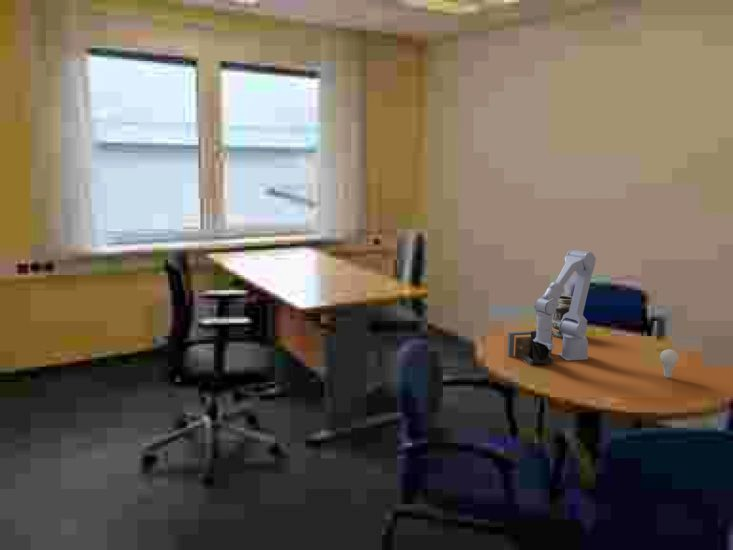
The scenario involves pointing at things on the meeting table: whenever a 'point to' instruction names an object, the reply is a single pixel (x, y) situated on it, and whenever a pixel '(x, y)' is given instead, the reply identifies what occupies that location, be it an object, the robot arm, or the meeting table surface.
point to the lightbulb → (668, 361)
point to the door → (522, 346)
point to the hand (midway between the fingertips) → (542, 361)
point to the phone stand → (535, 351)
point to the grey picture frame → (511, 341)
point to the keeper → (532, 360)
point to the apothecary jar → (561, 313)
